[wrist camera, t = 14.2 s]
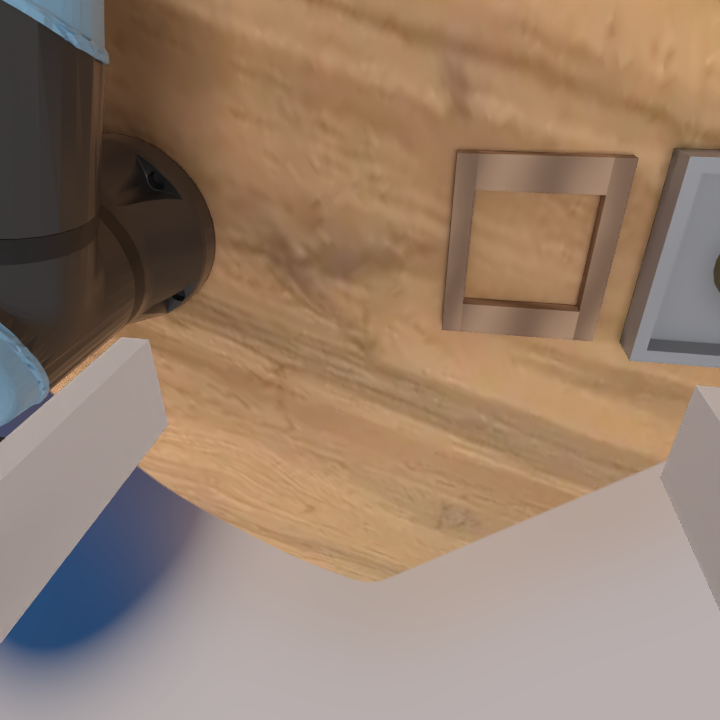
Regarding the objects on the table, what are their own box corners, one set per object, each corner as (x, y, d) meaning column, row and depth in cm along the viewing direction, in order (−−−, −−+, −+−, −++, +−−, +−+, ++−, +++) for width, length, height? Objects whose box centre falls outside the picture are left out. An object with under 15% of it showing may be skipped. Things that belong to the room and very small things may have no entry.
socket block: (442, 323, 46) (441, 329, 45) (457, 149, 39) (457, 153, 38) (589, 334, 44) (592, 341, 43) (633, 154, 37) (638, 158, 36)
